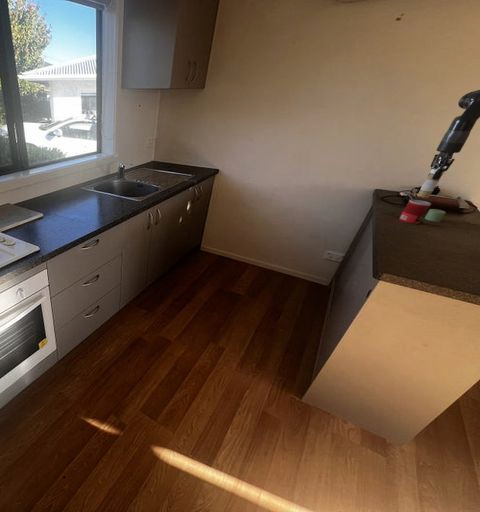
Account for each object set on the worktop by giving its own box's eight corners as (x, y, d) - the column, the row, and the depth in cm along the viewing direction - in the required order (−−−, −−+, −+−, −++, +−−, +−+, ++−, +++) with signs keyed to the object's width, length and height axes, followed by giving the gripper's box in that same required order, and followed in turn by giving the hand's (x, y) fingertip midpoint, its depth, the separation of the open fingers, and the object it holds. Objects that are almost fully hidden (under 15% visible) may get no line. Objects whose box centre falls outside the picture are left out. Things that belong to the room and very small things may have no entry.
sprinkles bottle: (420, 195, 147) (436, 168, 141) (431, 197, 144) (448, 170, 137) (414, 195, 146) (429, 168, 140) (424, 198, 143) (441, 170, 136)
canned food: (417, 226, 147) (430, 205, 141) (396, 221, 152) (408, 201, 147) (419, 222, 151) (432, 202, 146) (399, 217, 156) (410, 198, 151)
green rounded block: (430, 217, 157) (435, 208, 155) (443, 221, 152) (449, 212, 150) (421, 218, 156) (426, 209, 154) (434, 222, 151) (440, 213, 149)
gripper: (473, 143, 125) (450, 182, 134) (457, 139, 136) (437, 176, 144) (448, 142, 129) (428, 180, 137) (435, 138, 139) (417, 174, 148)
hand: (432, 178), depth 141 cm, fingers closed on sprinkles bottle, 4 cm apart
